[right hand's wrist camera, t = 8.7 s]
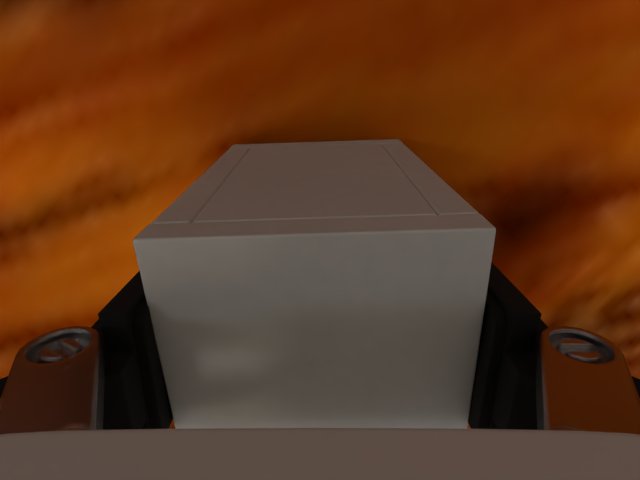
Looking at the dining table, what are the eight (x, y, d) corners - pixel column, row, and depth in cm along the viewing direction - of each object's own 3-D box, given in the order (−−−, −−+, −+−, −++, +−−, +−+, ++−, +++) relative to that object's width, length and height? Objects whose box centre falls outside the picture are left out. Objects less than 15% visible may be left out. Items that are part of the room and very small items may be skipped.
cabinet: (386, 448, 22) (429, 692, 14) (267, 451, 22) (235, 696, 14) (399, 138, 16) (497, 227, 7) (232, 144, 16) (131, 239, 7)
